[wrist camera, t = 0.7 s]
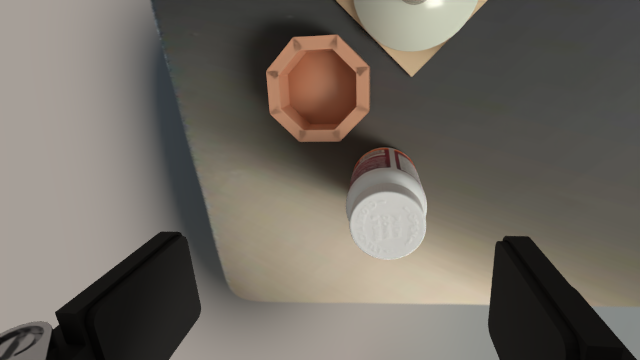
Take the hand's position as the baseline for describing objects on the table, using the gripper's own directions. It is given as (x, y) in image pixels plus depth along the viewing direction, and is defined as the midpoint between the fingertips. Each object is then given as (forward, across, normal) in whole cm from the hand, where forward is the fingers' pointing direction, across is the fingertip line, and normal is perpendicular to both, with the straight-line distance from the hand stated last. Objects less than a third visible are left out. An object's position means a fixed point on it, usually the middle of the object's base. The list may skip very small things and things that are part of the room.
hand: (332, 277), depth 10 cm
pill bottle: (+24, -2, +4) cm, 25 cm away
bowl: (+24, +4, -4) cm, 25 cm away
